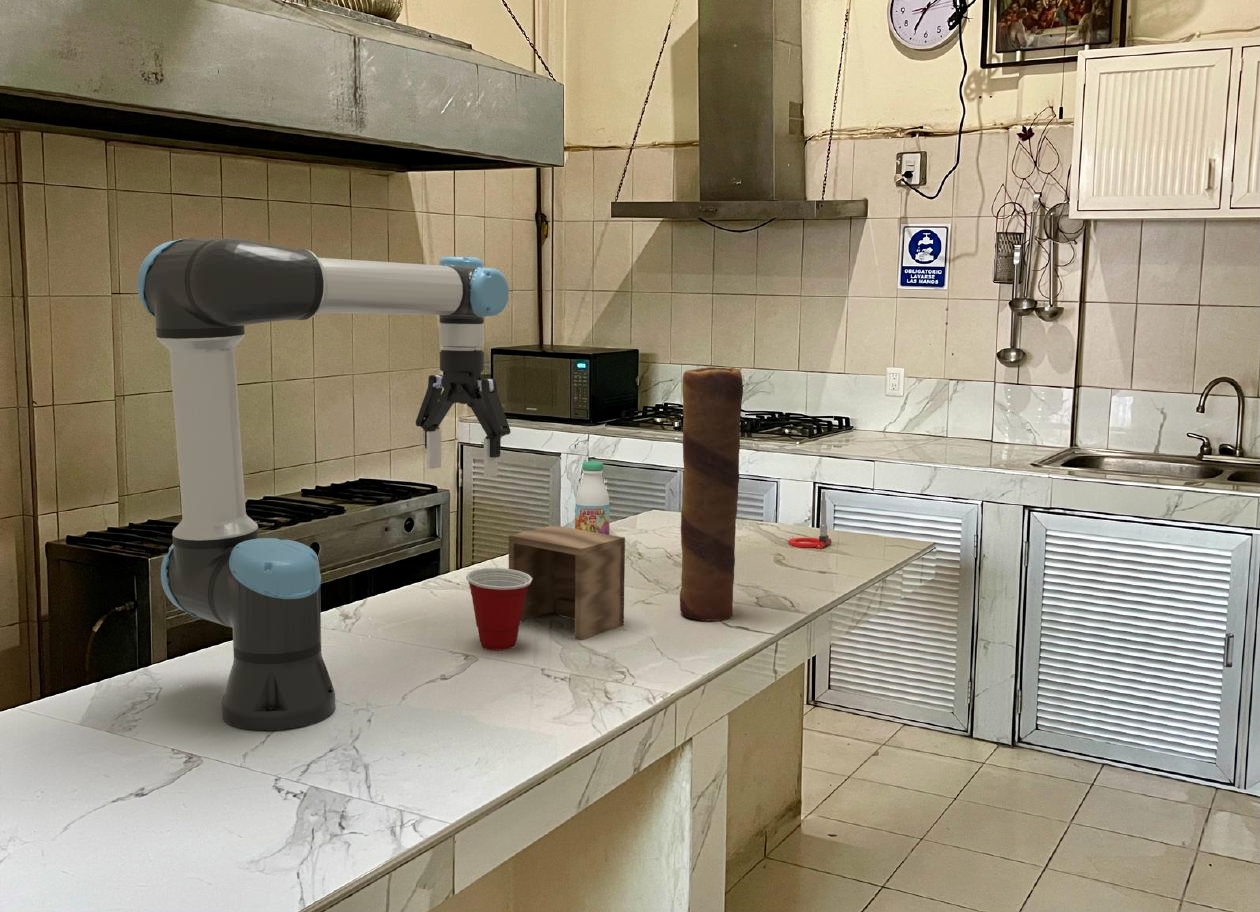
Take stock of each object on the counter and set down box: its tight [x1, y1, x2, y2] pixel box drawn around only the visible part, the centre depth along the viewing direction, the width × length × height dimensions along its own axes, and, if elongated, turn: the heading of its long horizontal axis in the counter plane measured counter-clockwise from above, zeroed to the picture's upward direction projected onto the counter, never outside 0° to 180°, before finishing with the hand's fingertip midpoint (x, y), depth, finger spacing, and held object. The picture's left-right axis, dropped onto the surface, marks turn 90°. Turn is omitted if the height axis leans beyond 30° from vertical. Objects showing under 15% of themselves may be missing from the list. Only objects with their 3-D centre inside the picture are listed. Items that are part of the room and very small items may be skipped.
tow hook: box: [787, 491, 833, 550], centre depth 281 cm, size 8×13×9 cm
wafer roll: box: [679, 366, 744, 621], centre depth 217 cm, size 10×11×45 cm
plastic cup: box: [465, 567, 532, 651], centre depth 199 cm, size 11×11×12 cm
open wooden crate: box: [508, 524, 626, 641], centre depth 212 cm, size 12×16×16 cm
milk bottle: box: [574, 461, 611, 535], centre depth 270 cm, size 8×8×20 cm
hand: (461, 472), depth 208 cm, fingers open, 13 cm apart
